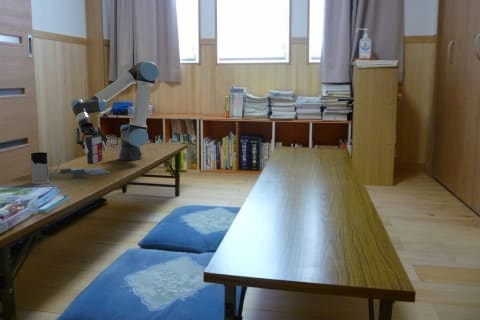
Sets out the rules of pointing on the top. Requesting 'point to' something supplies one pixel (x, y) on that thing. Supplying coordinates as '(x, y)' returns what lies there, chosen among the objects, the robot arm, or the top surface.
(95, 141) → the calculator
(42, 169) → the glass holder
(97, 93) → the robot arm
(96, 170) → the rubber mat
